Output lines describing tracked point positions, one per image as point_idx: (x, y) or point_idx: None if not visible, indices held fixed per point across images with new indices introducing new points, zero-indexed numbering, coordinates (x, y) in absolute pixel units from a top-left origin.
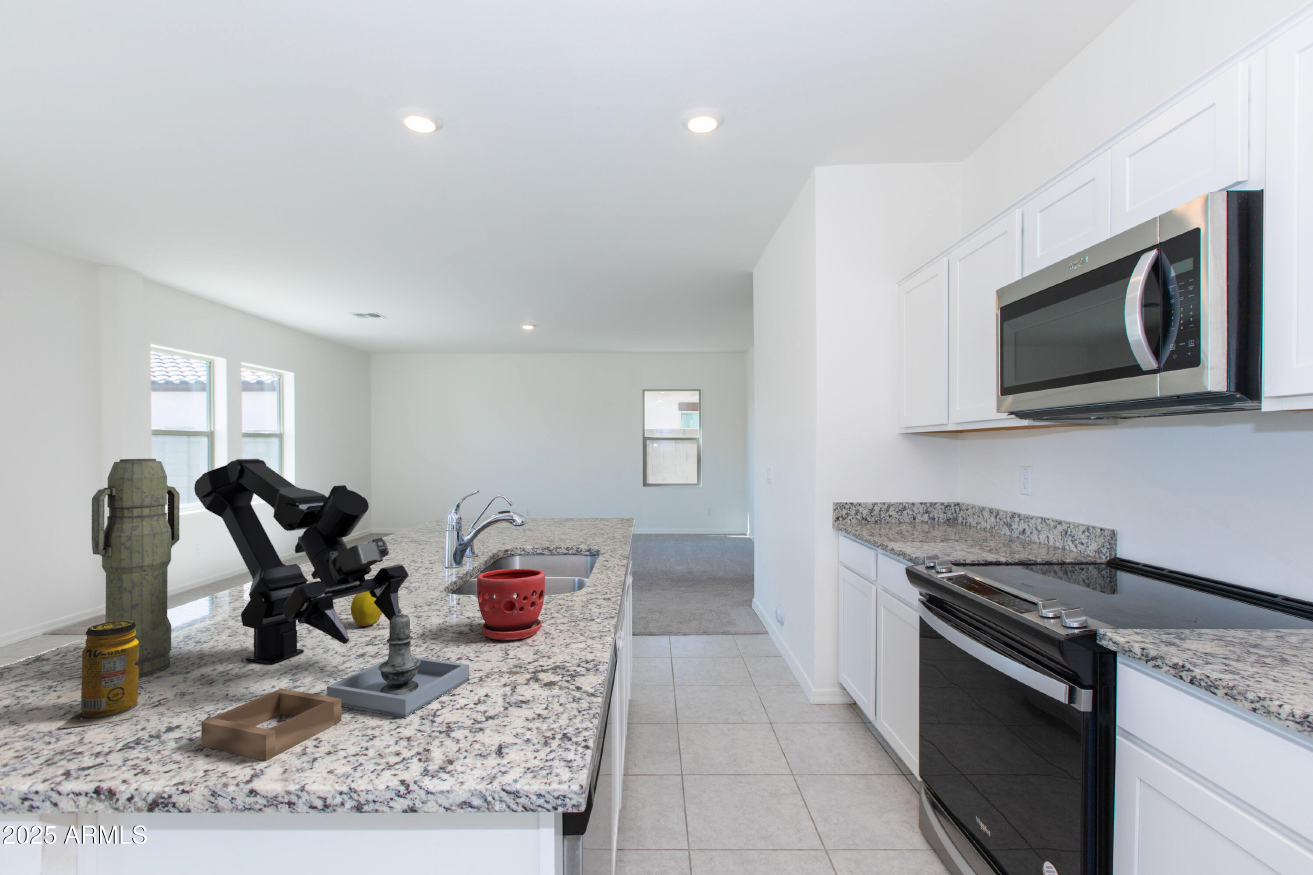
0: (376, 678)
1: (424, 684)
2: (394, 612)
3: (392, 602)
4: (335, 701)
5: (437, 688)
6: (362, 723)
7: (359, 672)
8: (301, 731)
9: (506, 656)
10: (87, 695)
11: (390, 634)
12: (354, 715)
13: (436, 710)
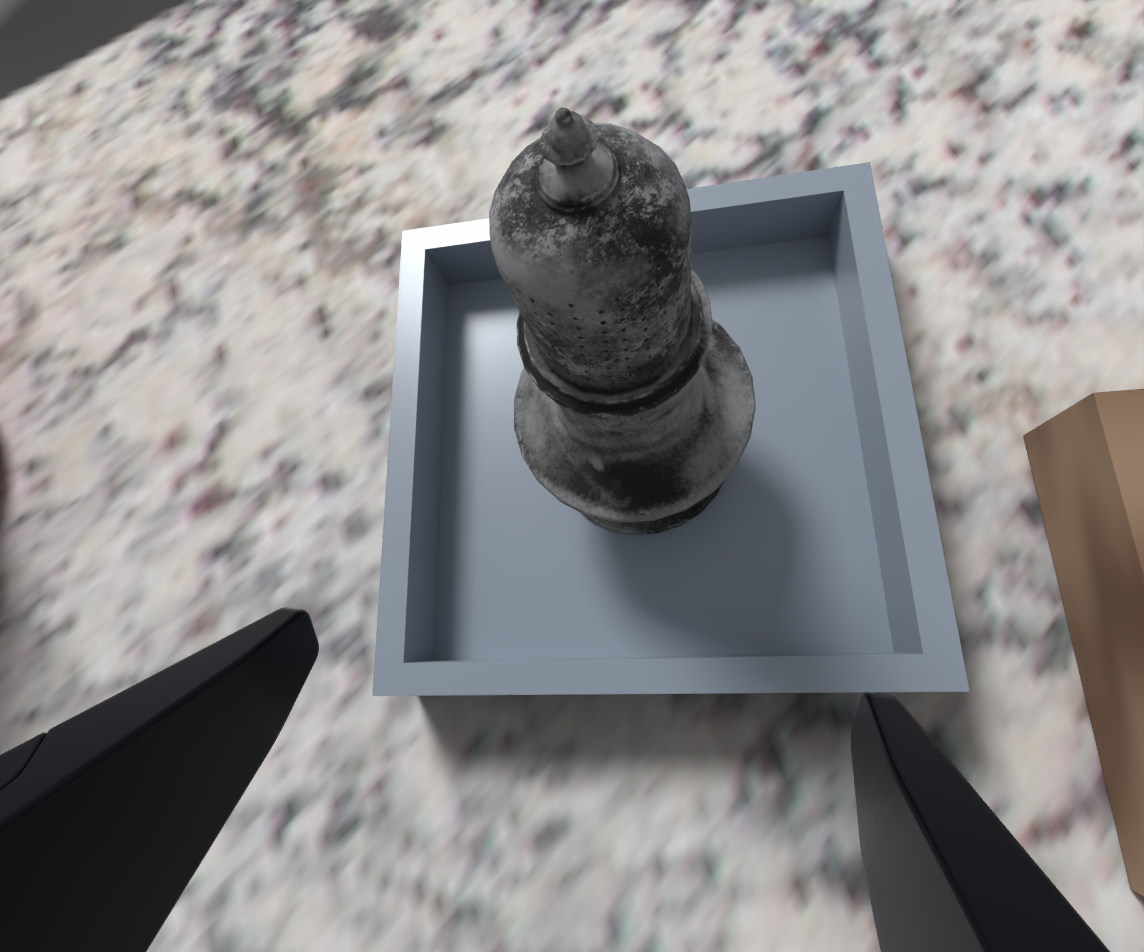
0: (593, 656)
1: None
2: (207, 694)
3: (70, 774)
4: (1140, 389)
5: None
6: (981, 333)
7: (699, 683)
8: None
9: (157, 326)
10: None
11: (685, 314)
12: (942, 433)
13: (731, 177)
